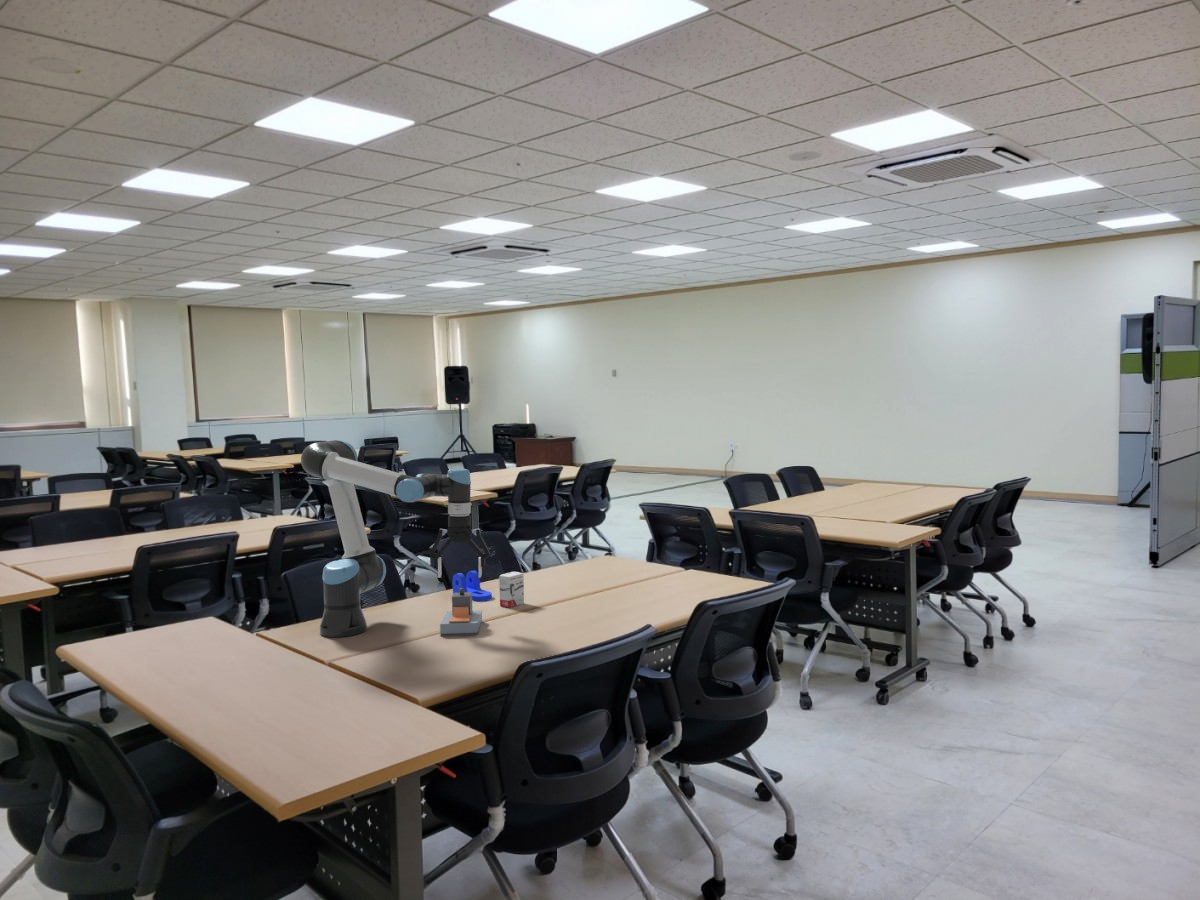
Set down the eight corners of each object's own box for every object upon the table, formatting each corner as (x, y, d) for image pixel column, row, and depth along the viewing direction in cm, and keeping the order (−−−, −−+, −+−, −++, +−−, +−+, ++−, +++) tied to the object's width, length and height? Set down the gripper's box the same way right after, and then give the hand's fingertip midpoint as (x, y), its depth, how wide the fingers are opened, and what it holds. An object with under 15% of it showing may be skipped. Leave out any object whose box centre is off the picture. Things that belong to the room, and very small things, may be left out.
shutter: (448, 622, 272) (448, 612, 272) (451, 617, 278) (451, 607, 278) (468, 621, 272) (468, 611, 272) (471, 616, 279) (470, 606, 278)
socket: (440, 636, 271) (440, 624, 271) (447, 622, 287) (447, 611, 287) (477, 634, 272) (477, 622, 272) (482, 621, 288) (481, 610, 287)
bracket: (452, 595, 329) (452, 572, 328) (470, 591, 334) (470, 569, 333) (477, 602, 315) (477, 579, 314) (496, 599, 320) (495, 576, 320)
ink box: (509, 608, 305) (508, 576, 304) (499, 606, 308) (498, 575, 307) (524, 603, 312) (524, 572, 311) (515, 601, 315) (514, 571, 314)
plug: (452, 626, 279) (451, 591, 278) (455, 621, 285) (454, 586, 284) (470, 625, 280) (469, 590, 279) (472, 620, 286) (471, 586, 285)
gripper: (420, 516, 276) (421, 579, 277) (495, 516, 277) (495, 579, 278) (424, 513, 283) (424, 574, 285) (497, 512, 284) (497, 574, 286)
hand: (459, 576), depth 282 cm, fingers open, 13 cm apart
